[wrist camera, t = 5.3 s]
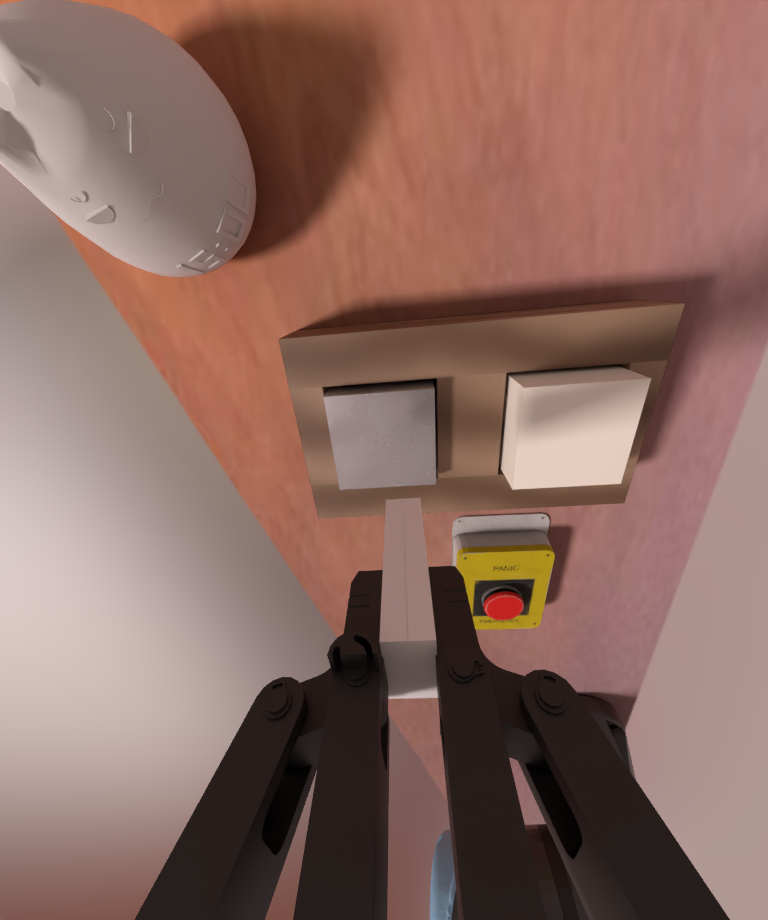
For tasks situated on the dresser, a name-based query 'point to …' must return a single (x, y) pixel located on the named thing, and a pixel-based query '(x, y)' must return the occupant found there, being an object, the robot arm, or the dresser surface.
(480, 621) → the emergency button
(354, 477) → the steel key
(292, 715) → the robot arm
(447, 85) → the dresser surface
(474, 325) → the brown wooden flat block
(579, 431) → the cream key
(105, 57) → the toy character
